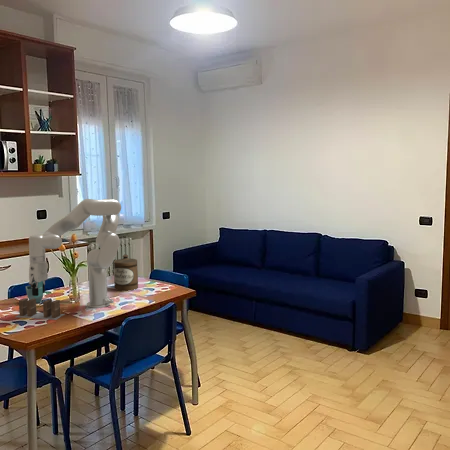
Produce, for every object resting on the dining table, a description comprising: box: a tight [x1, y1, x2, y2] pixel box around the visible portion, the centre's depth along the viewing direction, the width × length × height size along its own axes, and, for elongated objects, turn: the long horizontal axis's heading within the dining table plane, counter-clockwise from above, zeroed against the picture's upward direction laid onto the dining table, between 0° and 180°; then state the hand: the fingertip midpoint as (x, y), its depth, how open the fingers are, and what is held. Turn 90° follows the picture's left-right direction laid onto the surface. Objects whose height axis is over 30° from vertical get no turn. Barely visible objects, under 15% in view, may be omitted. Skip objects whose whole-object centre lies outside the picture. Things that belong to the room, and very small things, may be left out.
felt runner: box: [15, 312, 66, 320], centre depth 240 cm, size 23×9×1 cm, turn 80°
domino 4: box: [51, 299, 61, 318], centre depth 238 cm, size 2×5×8 cm, turn 170°
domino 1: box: [18, 297, 29, 316], centre depth 241 cm, size 2×5×8 cm, turn 170°
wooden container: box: [113, 254, 139, 292], centre depth 297 cm, size 15×15×22 cm
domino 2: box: [27, 299, 38, 317], centre depth 240 cm, size 2×5×8 cm, turn 170°
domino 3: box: [42, 299, 53, 318], centre depth 239 cm, size 2×5×8 cm, turn 170°
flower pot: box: [25, 285, 44, 304], centre depth 265 cm, size 9×9×9 cm
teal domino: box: [34, 281, 44, 298], centre depth 238 cm, size 2×5×8 cm, turn 170°
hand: (38, 293), depth 239 cm, fingers closed on teal domino, 4 cm apart
